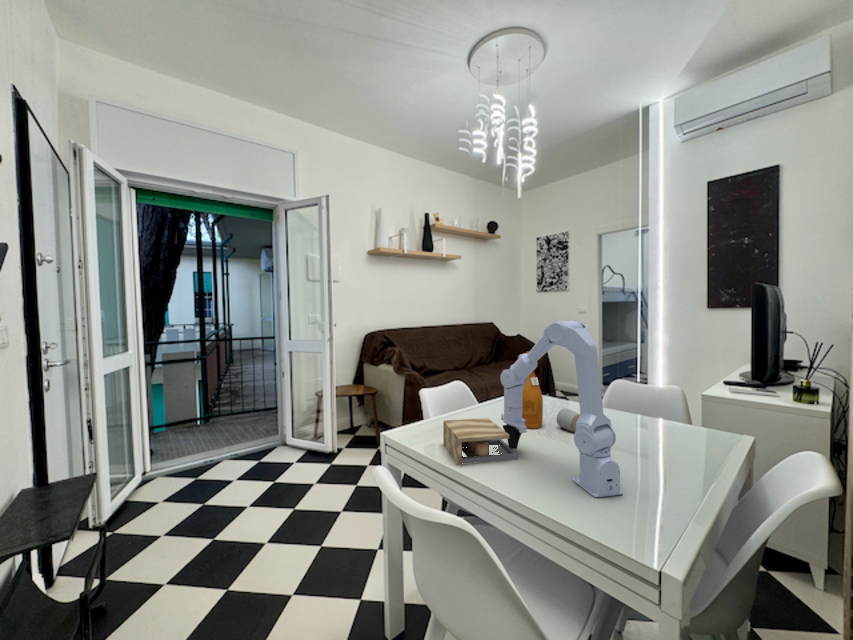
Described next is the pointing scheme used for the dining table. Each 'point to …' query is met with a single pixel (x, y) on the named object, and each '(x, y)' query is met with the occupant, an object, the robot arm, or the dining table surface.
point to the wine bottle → (532, 402)
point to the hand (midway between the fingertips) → (513, 448)
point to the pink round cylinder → (482, 448)
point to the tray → (503, 448)
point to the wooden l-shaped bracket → (469, 434)
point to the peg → (472, 445)
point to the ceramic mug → (567, 419)
